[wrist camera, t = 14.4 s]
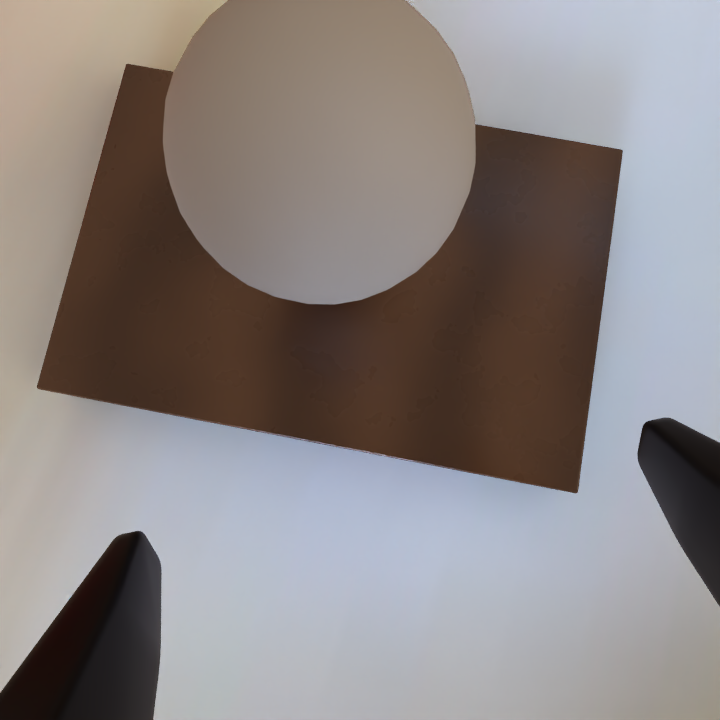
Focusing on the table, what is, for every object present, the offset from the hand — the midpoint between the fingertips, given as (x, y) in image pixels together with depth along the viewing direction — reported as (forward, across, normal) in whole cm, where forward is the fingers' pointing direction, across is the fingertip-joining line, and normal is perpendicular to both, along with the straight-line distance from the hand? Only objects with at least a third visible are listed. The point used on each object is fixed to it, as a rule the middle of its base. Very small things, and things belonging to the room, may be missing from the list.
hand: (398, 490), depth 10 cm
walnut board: (+12, 0, +2) cm, 13 cm away
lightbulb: (+11, 0, +1) cm, 11 cm away
